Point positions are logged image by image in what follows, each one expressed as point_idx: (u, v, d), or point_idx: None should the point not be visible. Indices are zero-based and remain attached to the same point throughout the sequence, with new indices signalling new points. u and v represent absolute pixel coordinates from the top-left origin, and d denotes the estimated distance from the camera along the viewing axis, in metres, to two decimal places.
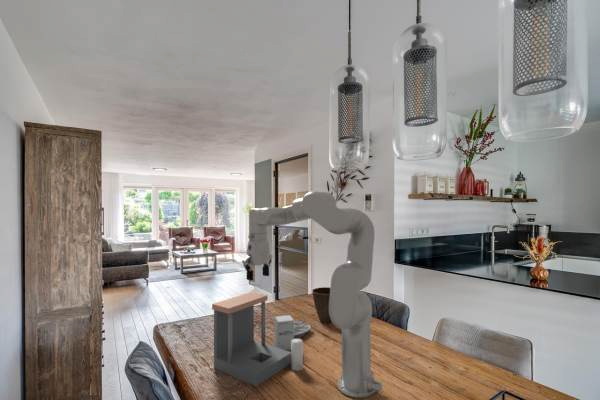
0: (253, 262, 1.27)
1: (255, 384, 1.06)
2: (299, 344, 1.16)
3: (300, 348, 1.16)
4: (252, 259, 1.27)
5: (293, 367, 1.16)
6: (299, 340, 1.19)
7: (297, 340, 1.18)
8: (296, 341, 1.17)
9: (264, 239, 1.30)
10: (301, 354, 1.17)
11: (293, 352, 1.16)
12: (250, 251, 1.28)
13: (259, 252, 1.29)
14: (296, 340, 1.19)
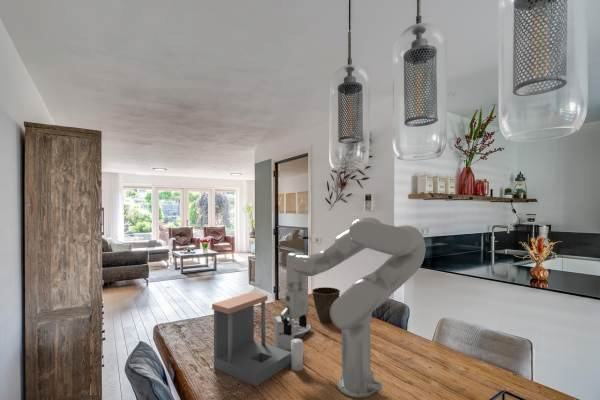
0: (292, 315, 1.13)
1: (255, 384, 1.06)
2: (299, 344, 1.16)
3: (300, 348, 1.16)
4: (291, 312, 1.14)
5: (293, 367, 1.16)
6: (299, 340, 1.18)
7: (297, 340, 1.18)
8: (296, 341, 1.17)
9: (303, 289, 1.17)
10: (301, 354, 1.17)
11: (293, 352, 1.16)
12: (288, 303, 1.14)
13: (298, 303, 1.15)
14: (296, 340, 1.18)
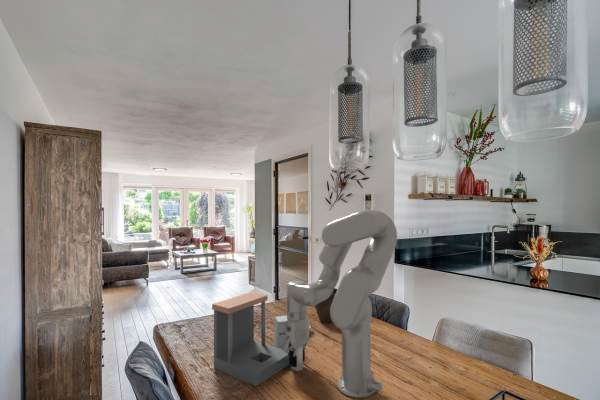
0: (293, 346, 1.13)
1: (255, 384, 1.06)
2: None
3: (300, 348, 1.16)
4: (292, 343, 1.13)
5: (293, 367, 1.16)
6: None
7: None
8: None
9: (304, 318, 1.16)
10: (301, 354, 1.17)
11: None
12: (289, 333, 1.14)
13: (299, 333, 1.15)
14: None
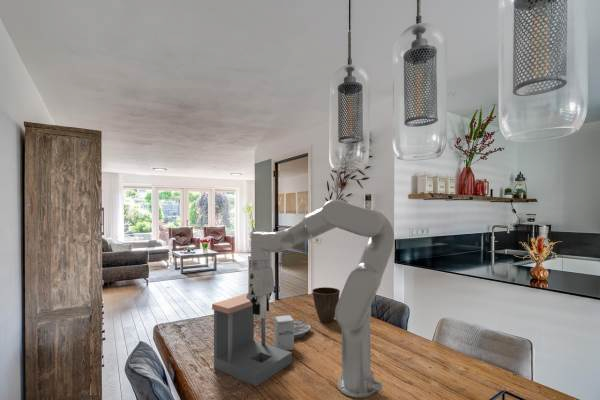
0: (255, 293, 1.13)
1: (255, 384, 1.06)
2: None
3: (263, 296, 1.17)
4: (254, 290, 1.14)
5: (256, 315, 1.17)
6: None
7: None
8: None
9: (268, 267, 1.17)
10: (264, 302, 1.17)
11: None
12: (252, 280, 1.14)
13: (262, 281, 1.15)
14: None
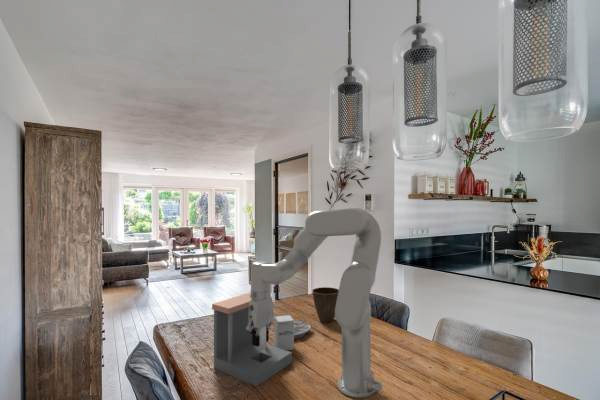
0: (255, 325, 1.13)
1: (255, 384, 1.06)
2: None
3: (263, 327, 1.17)
4: (254, 322, 1.13)
5: (256, 346, 1.16)
6: None
7: None
8: None
9: (268, 298, 1.16)
10: (264, 333, 1.17)
11: None
12: (252, 312, 1.14)
13: (262, 313, 1.15)
14: None
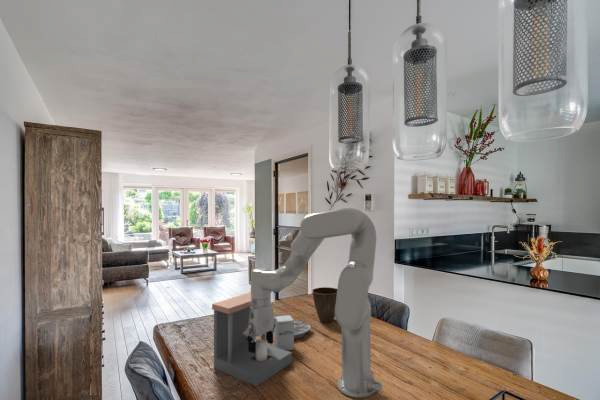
0: (255, 333, 1.13)
1: (255, 384, 1.06)
2: (263, 344, 1.16)
3: (264, 348, 1.16)
4: (254, 329, 1.13)
5: None
6: (264, 340, 1.19)
7: (262, 341, 1.18)
8: (261, 342, 1.17)
9: (268, 305, 1.16)
10: (265, 354, 1.17)
11: (257, 352, 1.16)
12: (252, 320, 1.14)
13: (262, 320, 1.15)
14: (261, 340, 1.19)
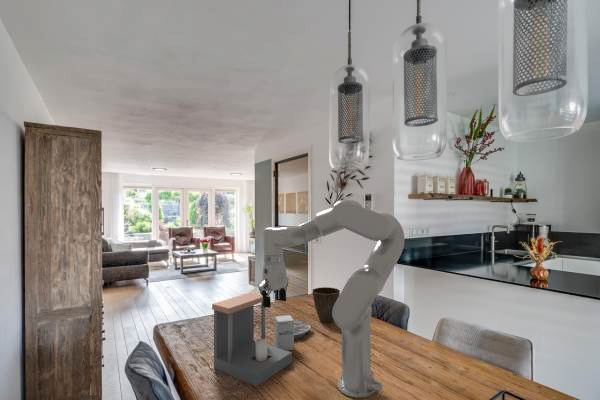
0: (270, 287, 1.15)
1: (255, 384, 1.06)
2: (263, 344, 1.16)
3: (264, 348, 1.16)
4: (269, 284, 1.15)
5: None
6: (264, 340, 1.19)
7: (262, 341, 1.18)
8: (261, 342, 1.17)
9: (281, 261, 1.19)
10: (265, 354, 1.17)
11: (257, 352, 1.16)
12: (266, 275, 1.16)
13: (276, 276, 1.17)
14: (261, 340, 1.19)
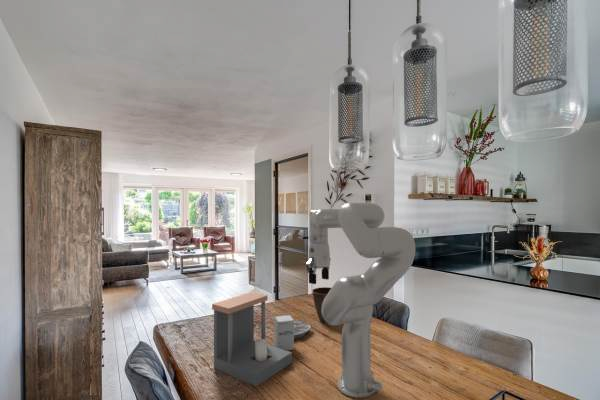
0: (316, 265, 1.23)
1: (255, 384, 1.06)
2: (263, 344, 1.16)
3: (264, 348, 1.16)
4: (315, 262, 1.23)
5: None
6: (263, 340, 1.19)
7: (262, 341, 1.18)
8: (260, 342, 1.17)
9: (326, 241, 1.26)
10: (265, 354, 1.17)
11: (257, 352, 1.16)
12: (313, 254, 1.24)
13: (321, 255, 1.25)
14: (260, 340, 1.19)
